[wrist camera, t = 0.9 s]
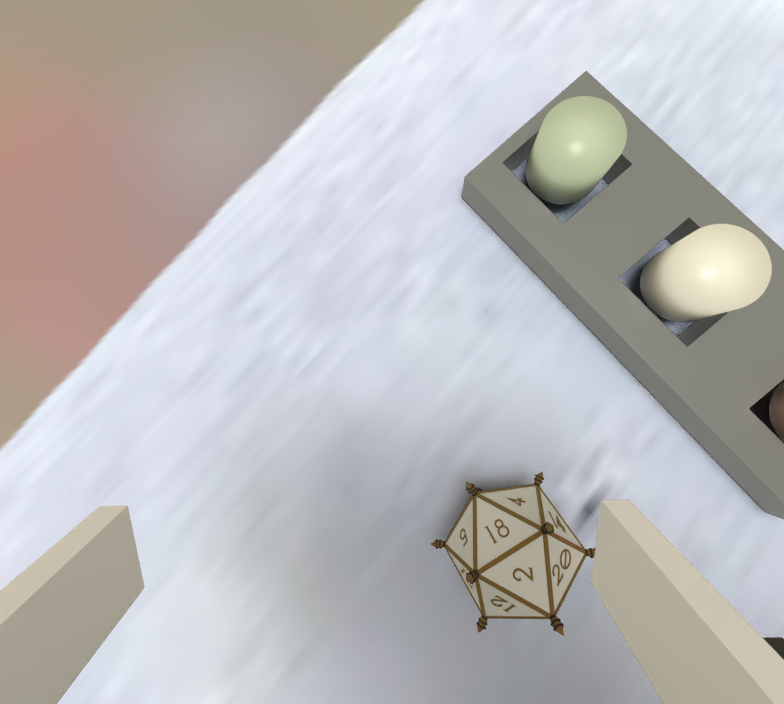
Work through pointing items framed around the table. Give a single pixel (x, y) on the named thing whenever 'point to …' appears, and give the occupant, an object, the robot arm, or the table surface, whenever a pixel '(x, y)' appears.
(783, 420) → the button three
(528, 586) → the game die
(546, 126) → the button two
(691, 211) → the console
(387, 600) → the table surface
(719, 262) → the button one
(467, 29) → the table surface
